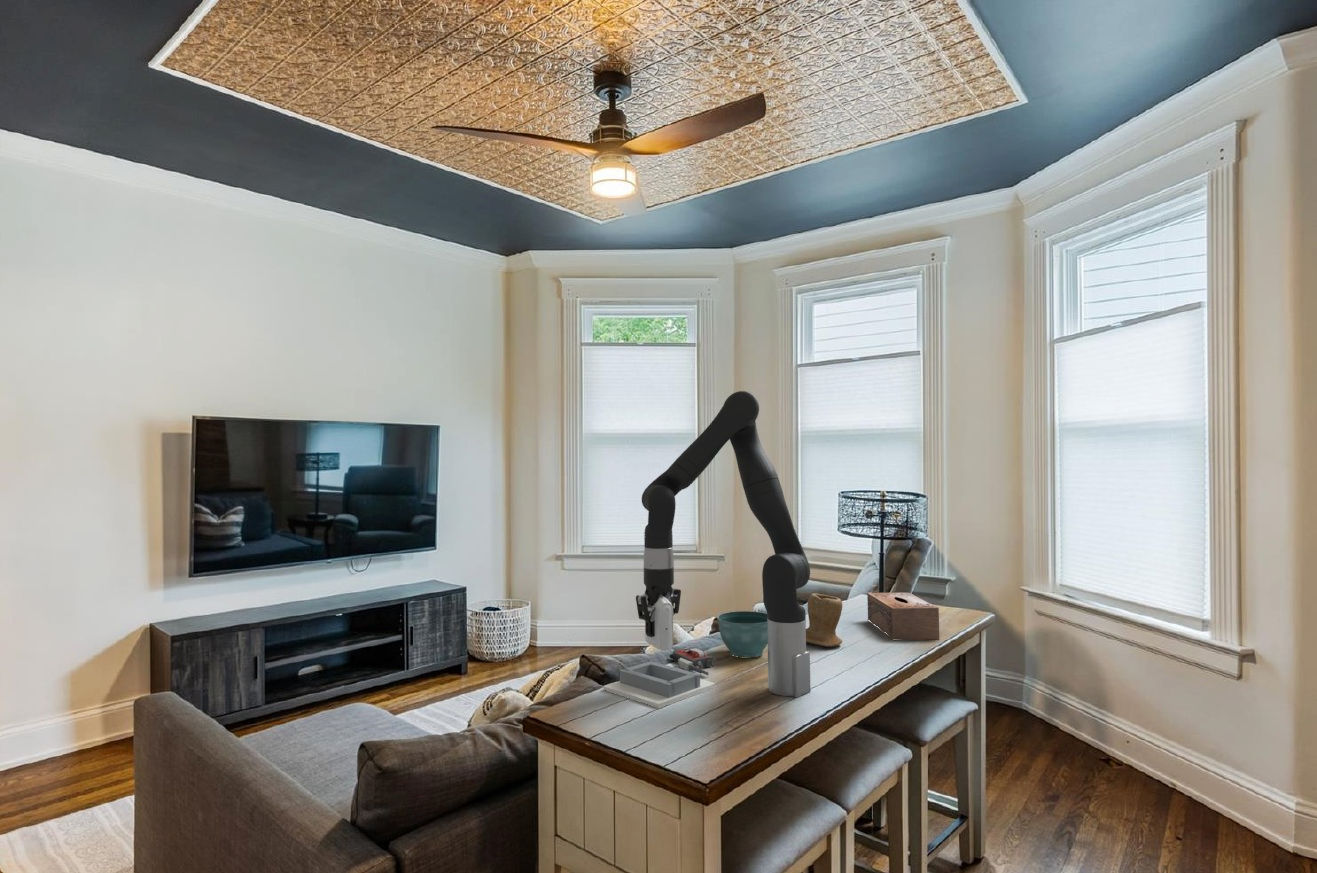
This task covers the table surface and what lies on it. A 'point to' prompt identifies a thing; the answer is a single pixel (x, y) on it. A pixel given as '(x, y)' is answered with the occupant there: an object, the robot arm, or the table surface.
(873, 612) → the tissue box cover
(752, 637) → the flower pot
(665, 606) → the photo printer
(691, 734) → the table surface
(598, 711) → the table surface
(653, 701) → the dock
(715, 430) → the robot arm
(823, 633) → the tan flared cylinder
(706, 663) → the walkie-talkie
